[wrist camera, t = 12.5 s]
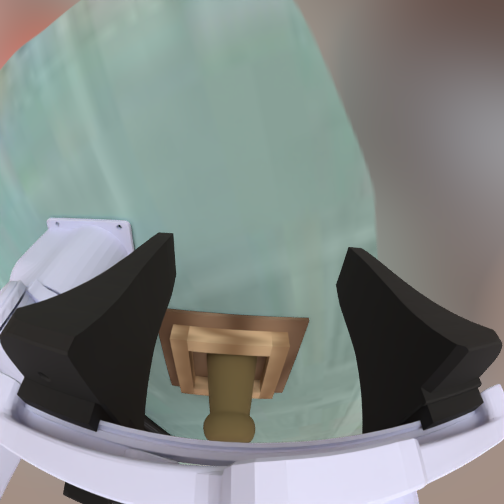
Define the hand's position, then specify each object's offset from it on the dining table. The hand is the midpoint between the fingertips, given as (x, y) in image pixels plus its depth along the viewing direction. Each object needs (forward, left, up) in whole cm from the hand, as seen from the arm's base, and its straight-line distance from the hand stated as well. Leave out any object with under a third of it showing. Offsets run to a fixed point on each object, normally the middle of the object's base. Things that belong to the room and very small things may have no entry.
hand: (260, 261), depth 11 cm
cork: (-1, -21, -10) cm, 24 cm away
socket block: (-1, -22, -10) cm, 24 cm away
